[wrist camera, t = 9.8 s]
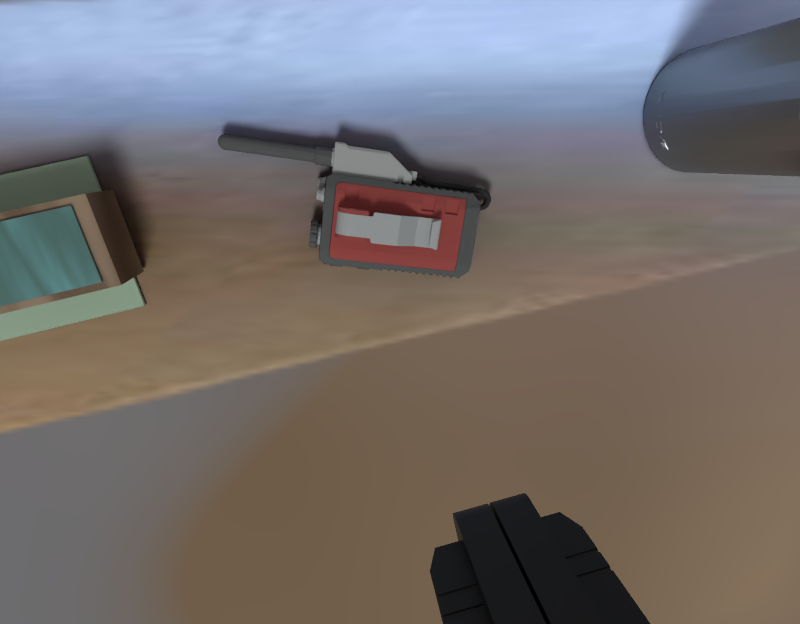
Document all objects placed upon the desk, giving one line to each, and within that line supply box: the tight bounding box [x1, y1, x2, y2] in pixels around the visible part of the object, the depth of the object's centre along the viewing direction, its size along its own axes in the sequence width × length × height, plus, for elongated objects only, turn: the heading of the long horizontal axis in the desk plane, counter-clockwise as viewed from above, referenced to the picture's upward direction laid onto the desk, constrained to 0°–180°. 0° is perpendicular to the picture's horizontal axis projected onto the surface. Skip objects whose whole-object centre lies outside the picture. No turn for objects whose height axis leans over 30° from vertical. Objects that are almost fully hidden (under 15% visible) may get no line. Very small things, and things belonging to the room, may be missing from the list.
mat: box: [0, 156, 146, 341], centre depth 37 cm, size 12×11×1 cm
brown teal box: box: [0, 190, 144, 314], centre depth 35 cm, size 5×6×10 cm
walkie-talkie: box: [218, 134, 491, 278], centre depth 38 cm, size 9×4×20 cm
